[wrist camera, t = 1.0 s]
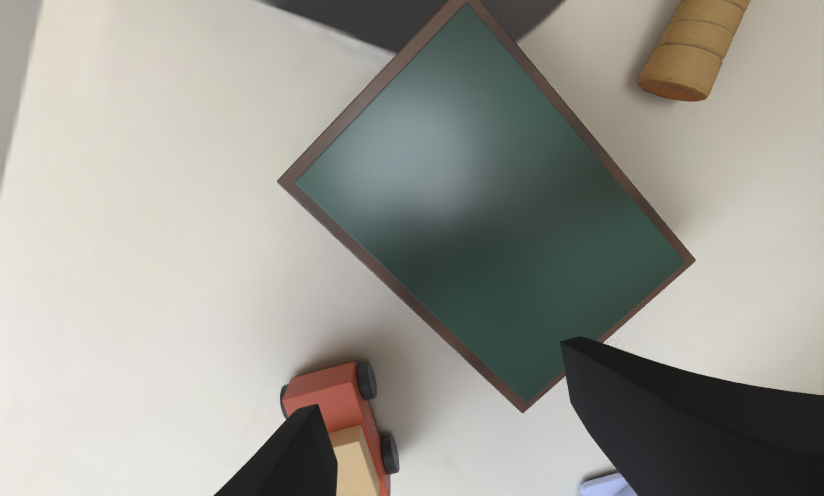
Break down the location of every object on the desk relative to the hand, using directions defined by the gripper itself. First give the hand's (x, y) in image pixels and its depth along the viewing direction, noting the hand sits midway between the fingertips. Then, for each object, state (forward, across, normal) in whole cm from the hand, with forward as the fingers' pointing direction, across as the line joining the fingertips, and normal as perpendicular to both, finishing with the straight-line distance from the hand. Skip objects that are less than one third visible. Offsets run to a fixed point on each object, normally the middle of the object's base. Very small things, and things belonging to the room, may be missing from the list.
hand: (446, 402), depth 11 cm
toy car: (+10, +6, +6) cm, 13 cm away
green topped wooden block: (+10, -4, -3) cm, 11 cm away
